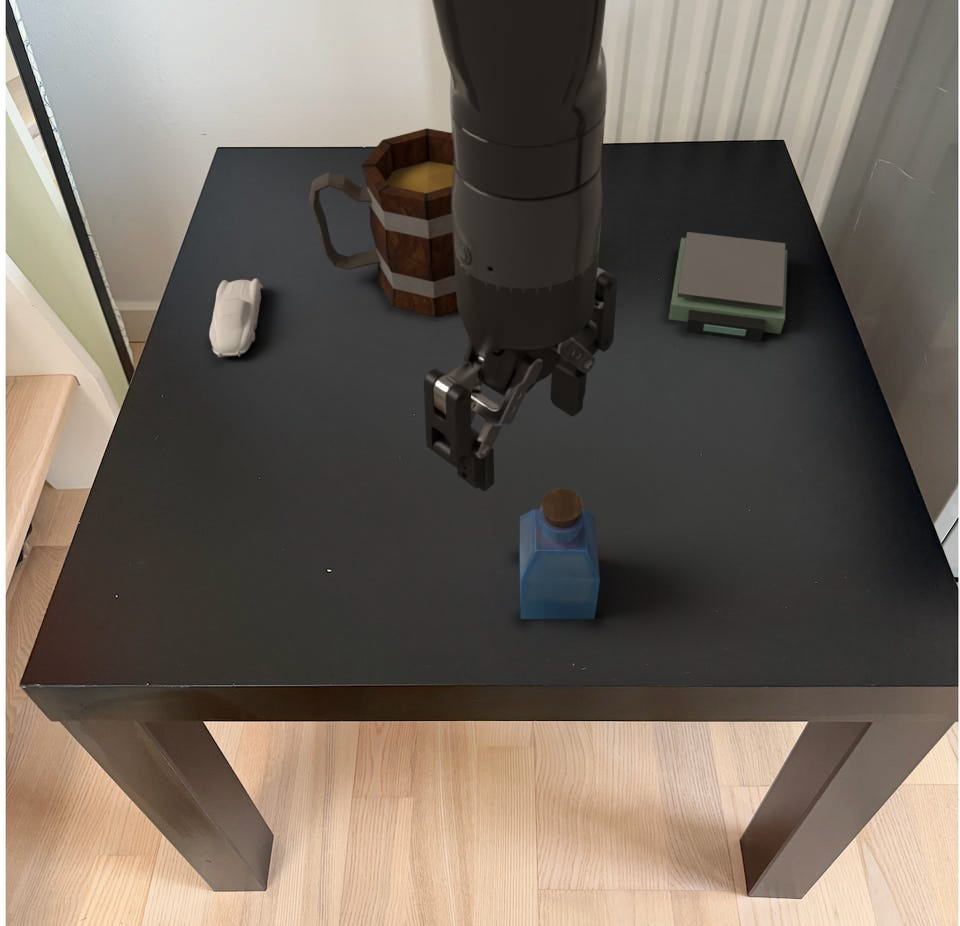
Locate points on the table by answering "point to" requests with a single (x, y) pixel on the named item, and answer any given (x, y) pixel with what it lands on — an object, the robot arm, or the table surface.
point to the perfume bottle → (558, 559)
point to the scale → (725, 313)
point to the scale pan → (733, 271)
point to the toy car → (235, 317)
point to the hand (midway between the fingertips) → (523, 443)
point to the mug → (404, 220)
